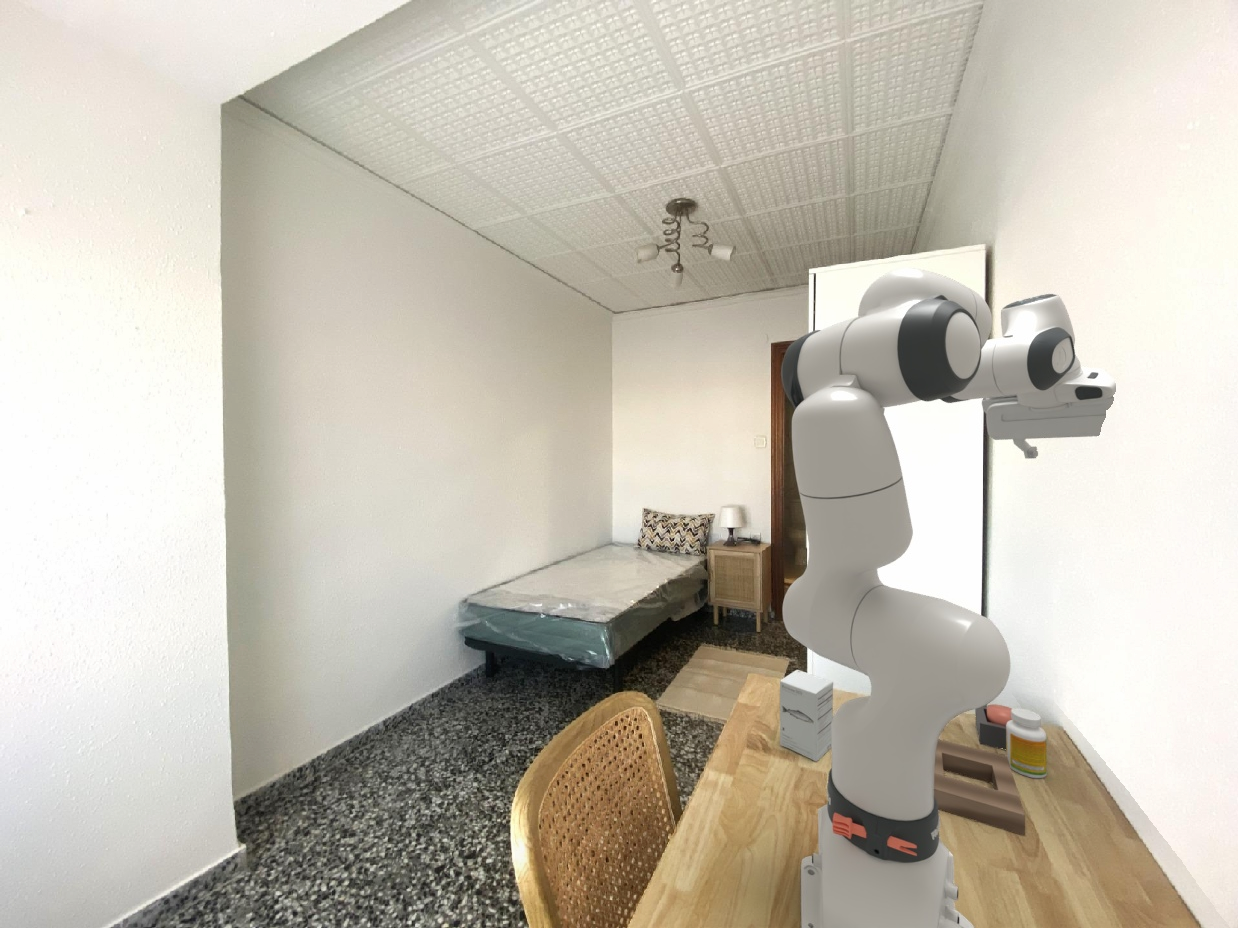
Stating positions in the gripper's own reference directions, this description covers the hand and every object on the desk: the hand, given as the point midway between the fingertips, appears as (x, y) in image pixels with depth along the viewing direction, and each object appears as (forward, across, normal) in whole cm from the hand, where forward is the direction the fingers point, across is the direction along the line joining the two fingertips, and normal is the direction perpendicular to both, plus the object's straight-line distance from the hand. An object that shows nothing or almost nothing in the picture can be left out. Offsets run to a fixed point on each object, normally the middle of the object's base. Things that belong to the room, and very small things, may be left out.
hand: (1064, 456), depth 86 cm
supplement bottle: (+43, -2, -35) cm, 55 cm away
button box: (+46, -8, -29) cm, 55 cm away
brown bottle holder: (+36, -5, -47) cm, 60 cm away
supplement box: (+30, -26, -59) cm, 71 cm away
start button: (+44, -8, -28) cm, 52 cm away
